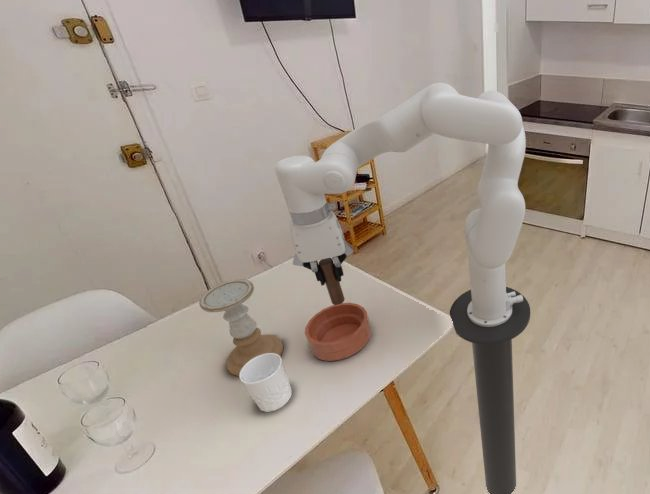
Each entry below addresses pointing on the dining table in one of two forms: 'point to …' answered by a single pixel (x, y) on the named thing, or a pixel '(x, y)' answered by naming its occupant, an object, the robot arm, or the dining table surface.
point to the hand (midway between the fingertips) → (331, 279)
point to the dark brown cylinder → (331, 281)
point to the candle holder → (239, 323)
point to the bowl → (338, 331)
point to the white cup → (266, 381)
